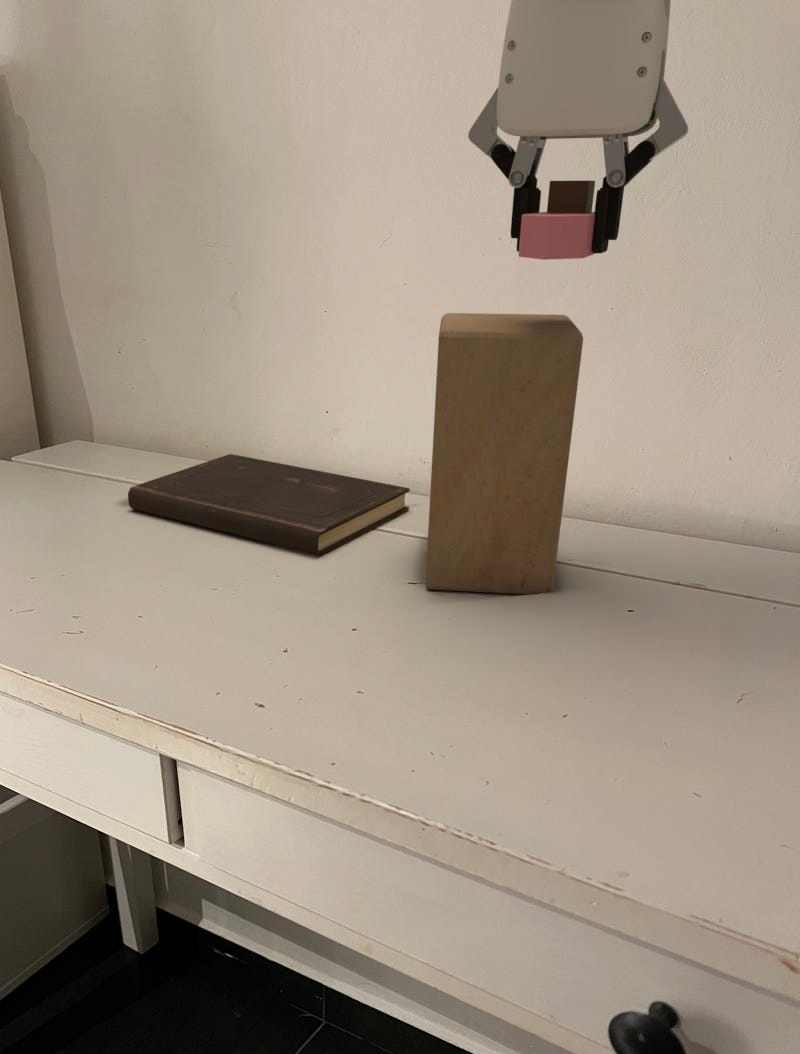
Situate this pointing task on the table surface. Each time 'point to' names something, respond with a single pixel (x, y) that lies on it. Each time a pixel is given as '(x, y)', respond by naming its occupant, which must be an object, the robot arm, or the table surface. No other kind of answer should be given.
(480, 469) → the wooden block
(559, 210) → the pink and brown blocks
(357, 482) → the hardcover book
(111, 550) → the table surface
